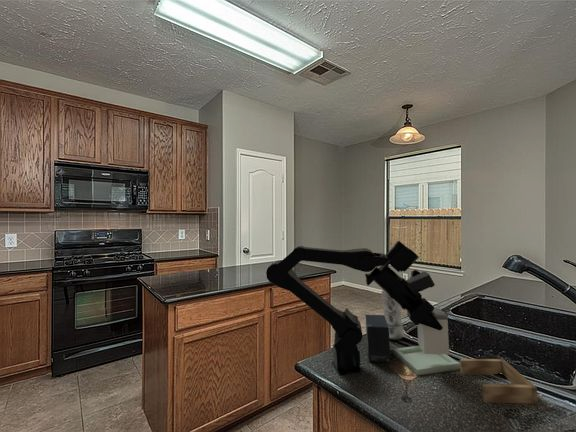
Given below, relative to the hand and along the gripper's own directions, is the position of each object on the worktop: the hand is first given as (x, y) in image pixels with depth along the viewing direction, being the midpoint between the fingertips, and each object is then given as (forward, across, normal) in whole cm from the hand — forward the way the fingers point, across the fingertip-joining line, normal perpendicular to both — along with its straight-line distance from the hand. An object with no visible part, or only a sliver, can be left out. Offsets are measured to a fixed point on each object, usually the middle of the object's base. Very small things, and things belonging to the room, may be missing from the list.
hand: (437, 324), depth 80 cm
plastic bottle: (+3, +20, +15) cm, 25 cm away
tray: (+7, +5, +10) cm, 14 cm away
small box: (-1, +9, +20) cm, 21 cm away
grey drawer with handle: (+4, 0, +6) cm, 7 cm away
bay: (+16, -7, +2) cm, 17 cm away
